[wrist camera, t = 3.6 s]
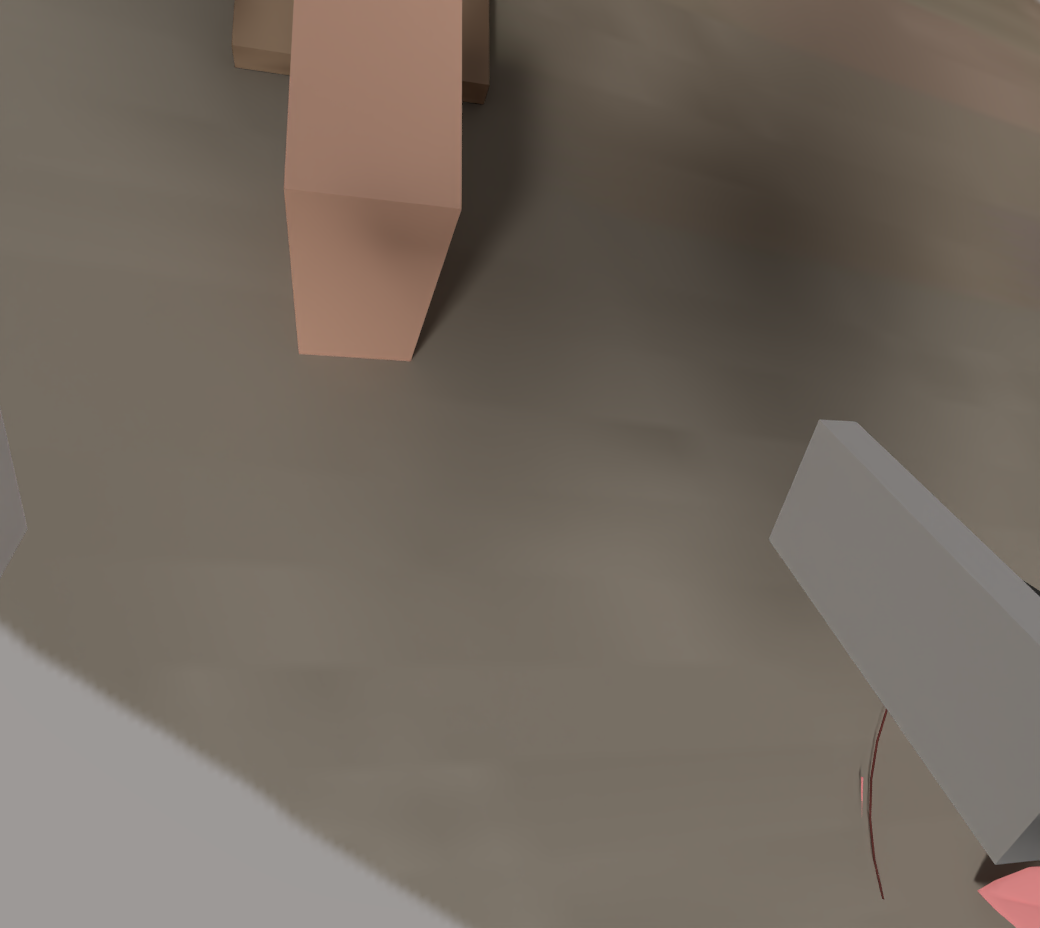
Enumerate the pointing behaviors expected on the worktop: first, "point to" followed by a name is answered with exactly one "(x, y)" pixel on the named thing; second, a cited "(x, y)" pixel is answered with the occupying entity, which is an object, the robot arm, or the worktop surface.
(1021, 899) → the figurine
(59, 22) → the worktop surface
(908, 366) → the worktop surface
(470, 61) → the book rack
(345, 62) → the terracotta book
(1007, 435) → the worktop surface
